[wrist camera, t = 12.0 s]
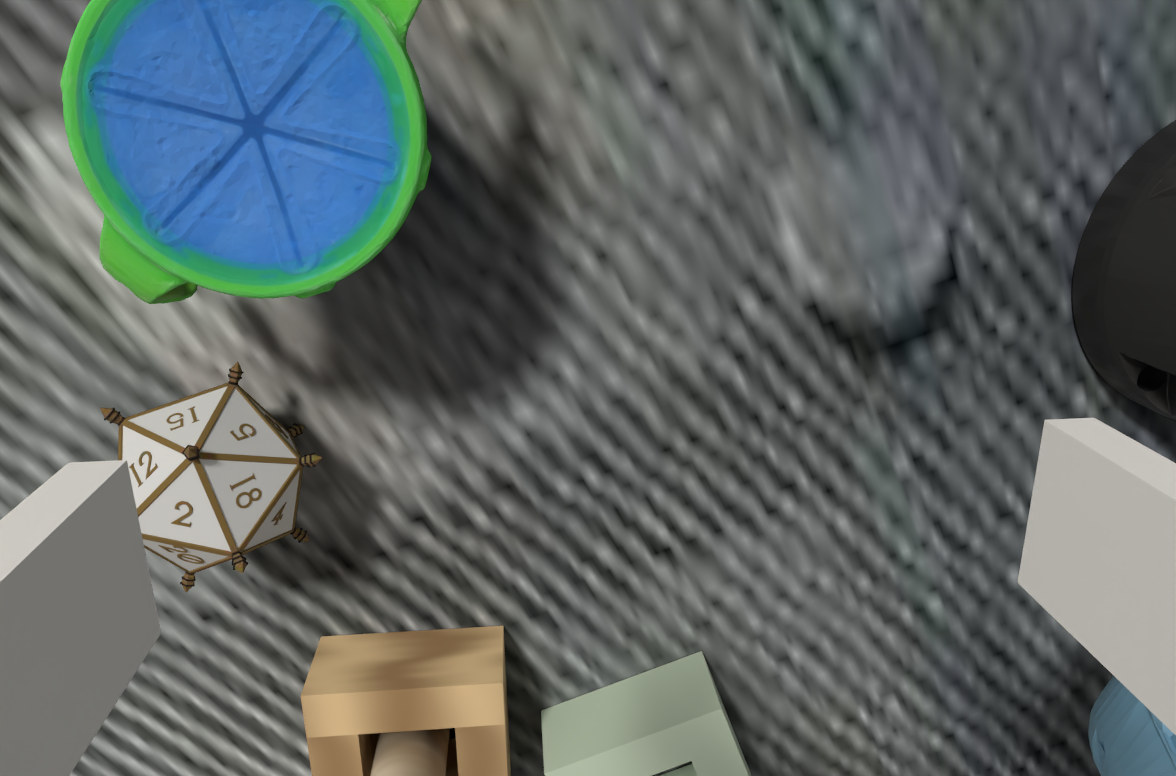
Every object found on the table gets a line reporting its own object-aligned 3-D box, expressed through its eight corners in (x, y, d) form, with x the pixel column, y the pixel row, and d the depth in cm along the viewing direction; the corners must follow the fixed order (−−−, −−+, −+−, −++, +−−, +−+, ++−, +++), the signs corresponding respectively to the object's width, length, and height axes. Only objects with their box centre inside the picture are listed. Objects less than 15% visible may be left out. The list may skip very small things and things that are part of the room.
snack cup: (369, -132, 33) (310, -223, 23) (546, 98, 36) (560, 101, 26) (80, 138, 35) (-82, 156, 25) (271, 333, 38) (191, 414, 29)
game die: (301, 427, 44) (370, 584, 38) (121, 493, 41) (166, 675, 35) (254, 292, 37) (328, 459, 31) (35, 360, 34) (72, 557, 28)
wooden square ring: (503, 625, 44) (502, 682, 40) (510, 769, 47) (510, 837, 43) (321, 636, 43) (300, 695, 39) (340, 782, 46) (322, 851, 42)
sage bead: (701, 650, 45) (721, 708, 41) (752, 777, 48) (775, 842, 44) (541, 710, 46) (544, 774, 42) (600, 832, 49) (609, 902, 45)
